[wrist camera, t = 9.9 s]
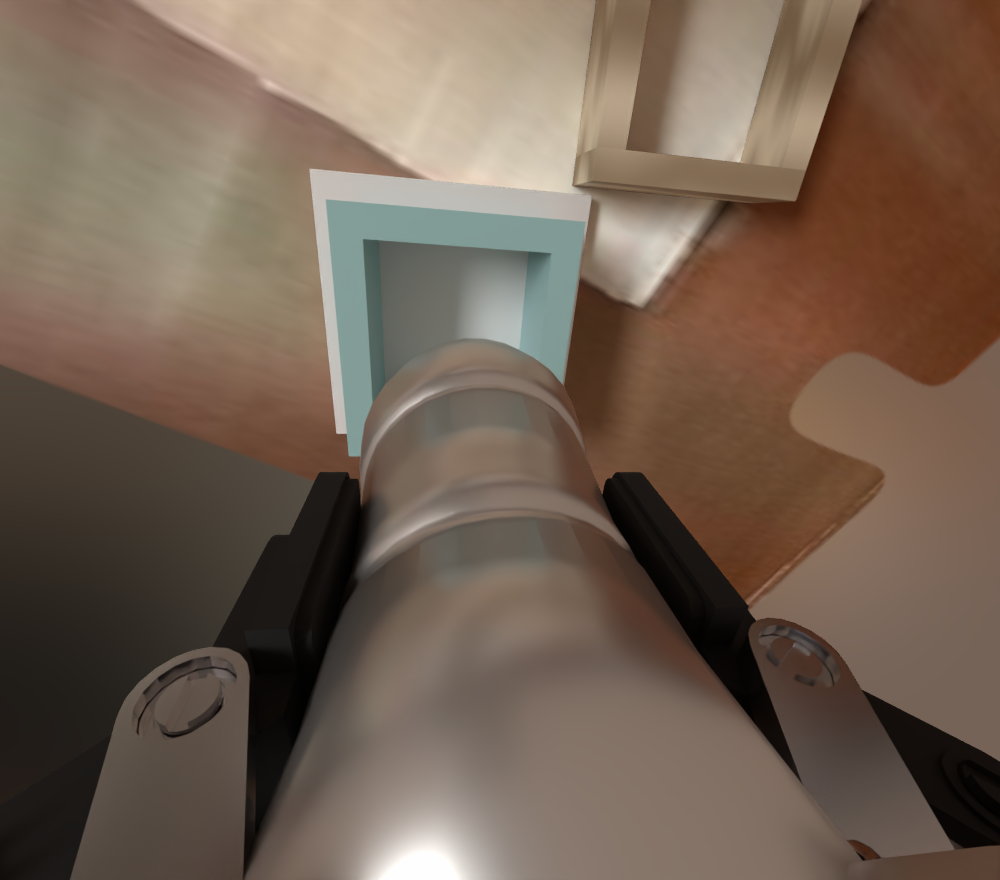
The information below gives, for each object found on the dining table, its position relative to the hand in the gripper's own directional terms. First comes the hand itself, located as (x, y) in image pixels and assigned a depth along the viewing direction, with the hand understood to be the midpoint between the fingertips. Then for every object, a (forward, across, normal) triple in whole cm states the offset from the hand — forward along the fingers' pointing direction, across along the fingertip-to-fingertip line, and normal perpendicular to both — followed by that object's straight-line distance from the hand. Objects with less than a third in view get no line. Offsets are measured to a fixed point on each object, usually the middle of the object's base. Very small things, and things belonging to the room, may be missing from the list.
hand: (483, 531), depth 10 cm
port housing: (+22, 0, 0) cm, 22 cm away
